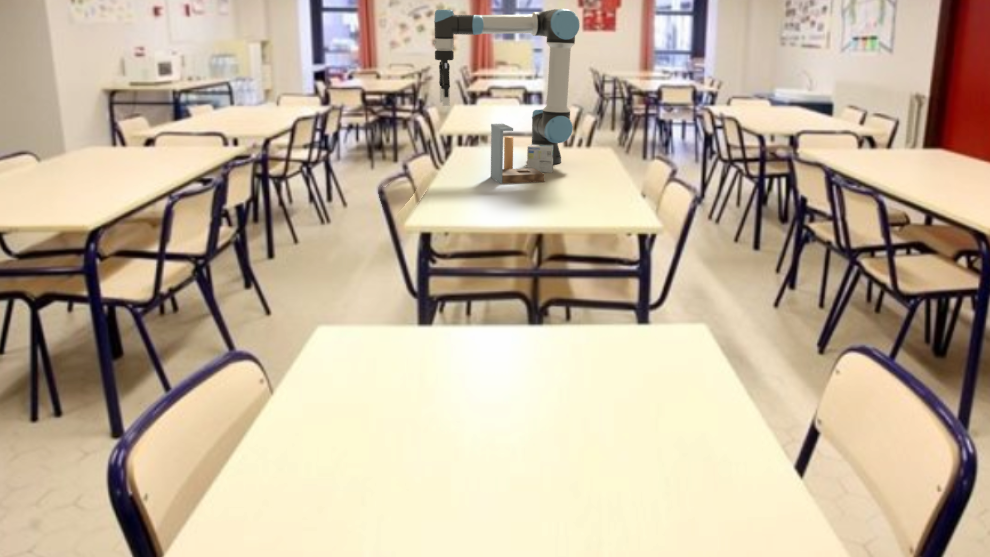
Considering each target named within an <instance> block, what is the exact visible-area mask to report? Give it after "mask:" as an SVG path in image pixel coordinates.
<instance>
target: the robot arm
mask: <svg viewBox="0 0 990 557" xmlns="http://www.w3.org/2000/svg"><path fill="white" fill-rule="evenodd" d="M433 22H434V40H433V43H432V44H434V49H435V51H434V59H435V61H439V65H438V69H439V78H438V80H439V82H438V83H439V103H442V106H446V107H447V106H448V107H449V106H451V105H450V104H451V103H450V94H451V93H450V88H451V84H450V68H451V67H450V63H449V62H448V61H454V57H455V56H454V54H455V53H454V50H453V49H455V48H454V46H455V45H454V40H455V39H454V35H463V36H466V35H467V36H471V35H472V36H476V35H487V34H488V35H493V34H494V35H495V34H502V35H503V34H504V35H505V34H507V35H508V34H509V35H510V34H531V35H532V36H535V37H537V36H538V37H544V38H545V37H546V44H547V45H548V46H549V59H548V76H547V92H546V94H547V95H546V106H545V107H544V108H543V109H534V110H533V112H532V116H531V144H530V145H553V165H555V164H560V163H562V155H561V152H560V151H561V150H560V147H559V144H561V143H564V142H566V141H568V139H569V138H570V137H571V136H572V134H573V131H574V130H573V129H574V128H573V127H574V126H573V123H572V121H571V110H570V109H569V108H568V95H569V94H568V93H569V80H570V79H569V77H570V66H571V49H572V47H574V45H575V42H576V35H577V34H578V33H579V30H580V19H579V18H578V16H577V14H576V13H575V12H573V11H572V10H570V9H566V8H559V9H556V8H555V9H550V10H546V11H545V10H544V11H533V12H532V13H531V14H454V10H453V9H436V10H435V11H434V21H433Z"/></svg>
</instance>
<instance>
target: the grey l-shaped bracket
mask: <svg viewBox="0 0 990 557" xmlns="http://www.w3.org/2000/svg"><path fill="white" fill-rule="evenodd" d="M490 130H491V131H490V132H491V133H490V136H491V137H490V178H492V180H494V181H496V182H497V183H498V184H503V183H502V172H503V169H504V132H512V131H514V127H512V126H509V125H507V124H505V123H491V124H490Z"/></svg>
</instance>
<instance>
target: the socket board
mask: <svg viewBox="0 0 990 557" xmlns="http://www.w3.org/2000/svg"><path fill="white" fill-rule="evenodd" d="M514 183H515V184H517V183H520V184H522V183H545V173H544V172H540V171H538V170H536V169H535V168H527V167H526V168H513V169H504V168H503V172H502V183H501V184H514Z"/></svg>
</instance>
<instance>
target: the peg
mask: <svg viewBox="0 0 990 557" xmlns="http://www.w3.org/2000/svg"><path fill="white" fill-rule="evenodd" d="M503 169H514V137H513V136H503Z"/></svg>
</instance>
